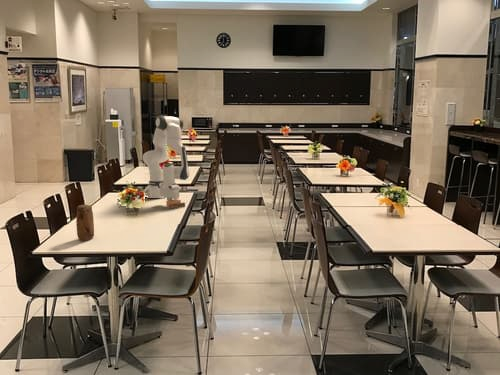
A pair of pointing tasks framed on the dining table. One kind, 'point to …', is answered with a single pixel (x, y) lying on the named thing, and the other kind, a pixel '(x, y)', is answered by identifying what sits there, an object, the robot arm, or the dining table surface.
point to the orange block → (172, 202)
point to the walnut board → (177, 205)
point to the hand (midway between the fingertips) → (169, 203)
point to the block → (85, 222)
